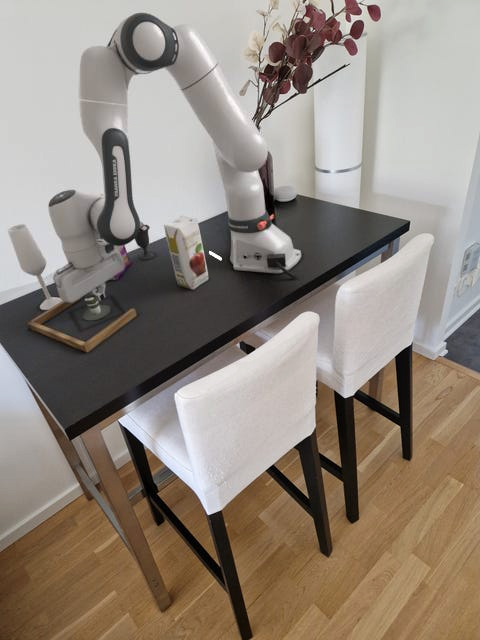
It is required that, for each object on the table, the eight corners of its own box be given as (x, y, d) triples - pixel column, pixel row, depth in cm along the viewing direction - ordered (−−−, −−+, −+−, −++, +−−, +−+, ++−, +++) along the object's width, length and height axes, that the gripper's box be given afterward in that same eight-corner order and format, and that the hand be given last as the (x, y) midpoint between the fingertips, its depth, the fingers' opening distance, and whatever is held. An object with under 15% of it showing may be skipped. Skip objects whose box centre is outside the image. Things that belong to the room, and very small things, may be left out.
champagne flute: (62, 295, 130) (30, 220, 117) (63, 305, 125) (29, 228, 111) (39, 301, 129) (4, 226, 115) (39, 312, 123) (2, 235, 110)
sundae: (147, 250, 149) (135, 209, 140) (160, 254, 145) (149, 211, 137) (133, 259, 145) (120, 217, 136) (147, 262, 141) (134, 219, 133)
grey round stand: (123, 313, 117) (118, 298, 114) (80, 331, 112) (74, 315, 110) (110, 296, 126) (105, 281, 123) (69, 312, 121) (63, 297, 118)
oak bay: (137, 315, 115) (135, 309, 114) (87, 352, 104) (84, 346, 103) (79, 297, 128) (77, 291, 127) (29, 328, 117) (26, 323, 116)
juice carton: (174, 286, 126) (159, 225, 115) (194, 273, 131) (182, 213, 120) (192, 292, 121) (178, 229, 111) (212, 278, 126) (201, 217, 116)
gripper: (58, 275, 103) (78, 321, 111) (120, 240, 116) (134, 283, 124) (43, 271, 107) (63, 316, 115) (105, 237, 120) (119, 279, 128)
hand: (101, 299), depth 120 cm, fingers closed
